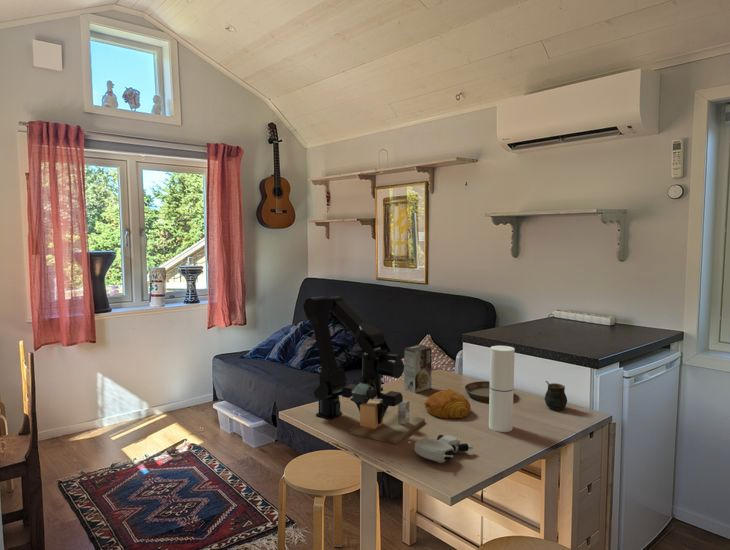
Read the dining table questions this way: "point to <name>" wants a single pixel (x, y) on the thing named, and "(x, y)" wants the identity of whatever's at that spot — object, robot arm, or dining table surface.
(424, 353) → the coffee box
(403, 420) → the post
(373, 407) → the orange rectangular block
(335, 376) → the robot arm
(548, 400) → the mate gourd
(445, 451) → the robot toy
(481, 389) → the plant saucer
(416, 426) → the base board
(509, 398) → the cylindrical container
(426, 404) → the croissant
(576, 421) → the dining table surface
